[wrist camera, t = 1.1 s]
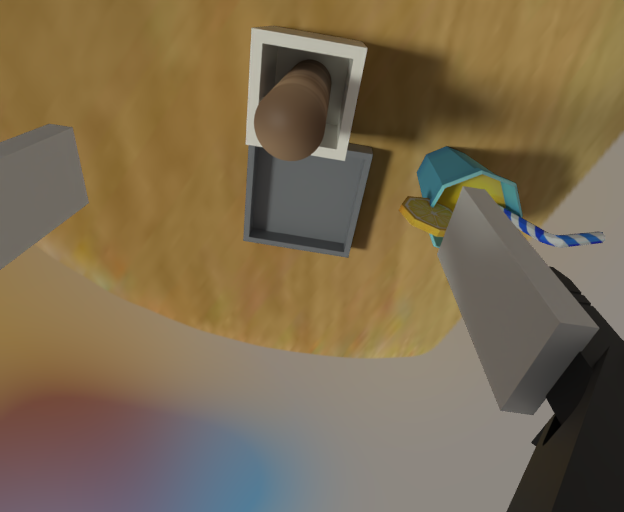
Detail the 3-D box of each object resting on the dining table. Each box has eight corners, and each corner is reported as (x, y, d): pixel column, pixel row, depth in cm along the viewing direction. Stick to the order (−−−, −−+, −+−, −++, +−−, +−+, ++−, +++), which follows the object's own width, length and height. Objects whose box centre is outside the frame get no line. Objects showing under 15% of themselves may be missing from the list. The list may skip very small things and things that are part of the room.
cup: (531, 131, 36) (633, 191, 24) (512, 204, 40) (590, 289, 28) (385, 135, 37) (408, 195, 25) (381, 206, 42) (399, 289, 29)
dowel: (290, 55, 33) (256, 81, 20) (335, 63, 33) (330, 94, 20) (285, 103, 35) (251, 155, 22) (327, 110, 36) (318, 166, 22)
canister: (272, 25, 33) (251, 27, 25) (361, 41, 33) (367, 48, 26) (265, 118, 37) (245, 144, 30) (344, 132, 38) (344, 160, 30)
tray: (254, 127, 38) (249, 133, 36) (371, 146, 38) (372, 154, 36) (248, 230, 44) (243, 240, 42) (347, 246, 45) (348, 257, 42)
